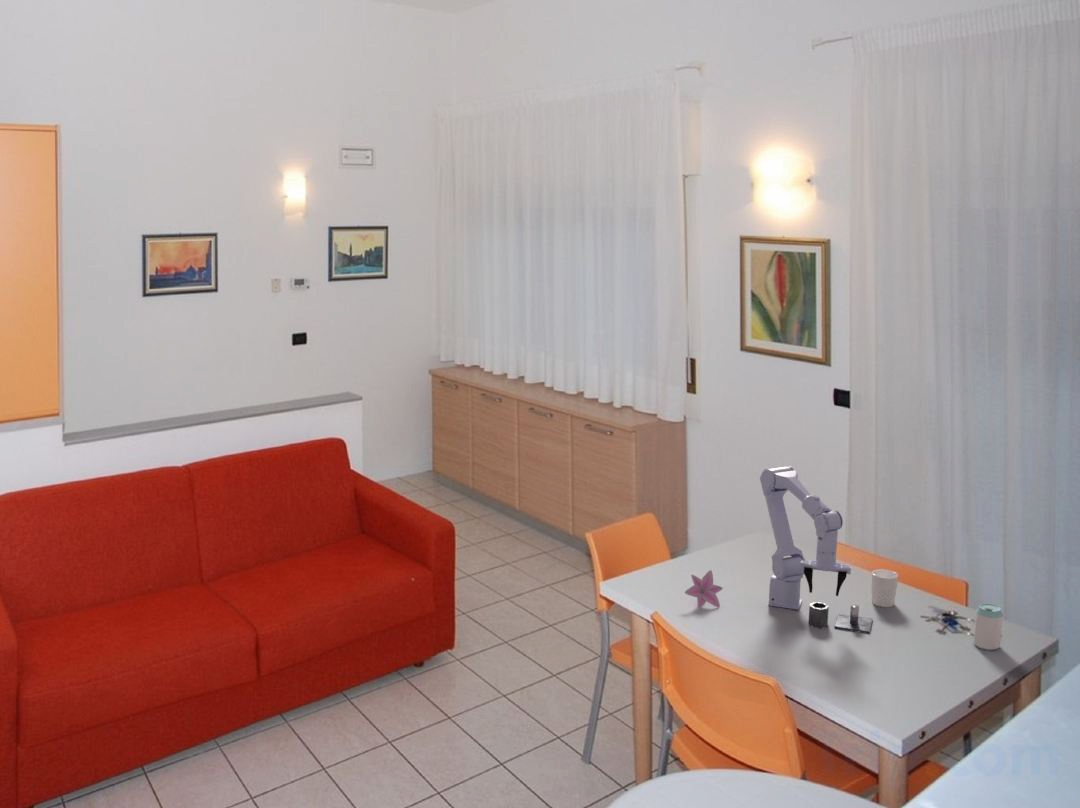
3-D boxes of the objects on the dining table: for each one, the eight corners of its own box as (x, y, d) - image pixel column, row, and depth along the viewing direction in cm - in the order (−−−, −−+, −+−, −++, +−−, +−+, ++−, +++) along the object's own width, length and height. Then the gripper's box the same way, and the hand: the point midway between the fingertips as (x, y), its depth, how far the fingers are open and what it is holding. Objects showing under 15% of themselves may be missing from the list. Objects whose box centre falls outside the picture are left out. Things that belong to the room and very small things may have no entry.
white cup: (897, 609, 317) (899, 579, 315) (871, 607, 319) (873, 577, 317) (894, 599, 325) (896, 570, 323) (868, 597, 326) (870, 568, 324)
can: (1004, 651, 288) (1008, 611, 286) (980, 652, 288) (984, 612, 285) (991, 640, 295) (995, 601, 293) (968, 641, 295) (972, 602, 292)
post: (834, 628, 304) (835, 610, 302) (838, 615, 313) (839, 597, 311) (869, 633, 300) (870, 615, 299) (872, 620, 309) (873, 602, 308)
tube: (807, 626, 305) (808, 607, 304) (810, 619, 310) (811, 600, 309) (826, 629, 303) (827, 610, 302) (828, 622, 308) (829, 603, 307)
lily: (678, 609, 320) (687, 589, 314) (683, 582, 330) (692, 563, 324) (714, 622, 319) (724, 602, 313) (718, 595, 329) (728, 576, 323)
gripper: (800, 552, 300) (798, 595, 303) (851, 557, 296) (848, 601, 299) (802, 544, 307) (800, 586, 310) (852, 549, 302) (849, 592, 305)
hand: (823, 593), depth 305 cm, fingers open, 7 cm apart
